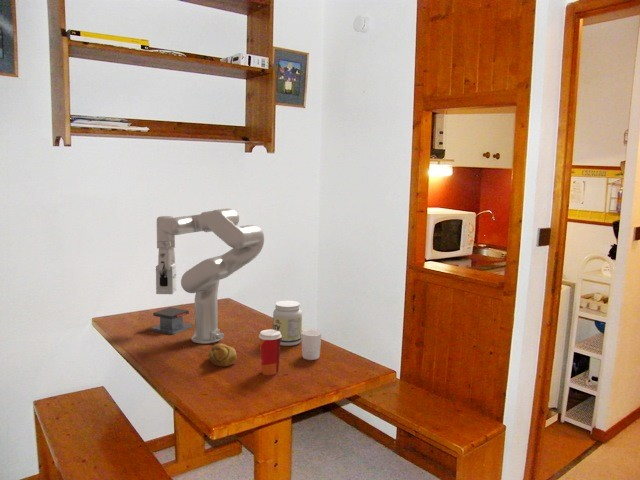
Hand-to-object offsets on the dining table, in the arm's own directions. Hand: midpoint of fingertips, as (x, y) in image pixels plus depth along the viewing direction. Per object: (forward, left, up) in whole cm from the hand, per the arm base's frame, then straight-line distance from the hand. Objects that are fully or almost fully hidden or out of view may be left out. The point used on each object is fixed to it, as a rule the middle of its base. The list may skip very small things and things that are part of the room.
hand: (166, 283), depth 231 cm
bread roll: (-43, +18, -22) cm, 52 cm away
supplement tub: (-54, -14, -22) cm, 60 cm away
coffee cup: (-65, +18, -22) cm, 71 cm away
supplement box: (0, 0, -4) cm, 4 cm away
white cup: (-71, -3, -22) cm, 74 cm away
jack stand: (+1, -4, -22) cm, 22 cm away
